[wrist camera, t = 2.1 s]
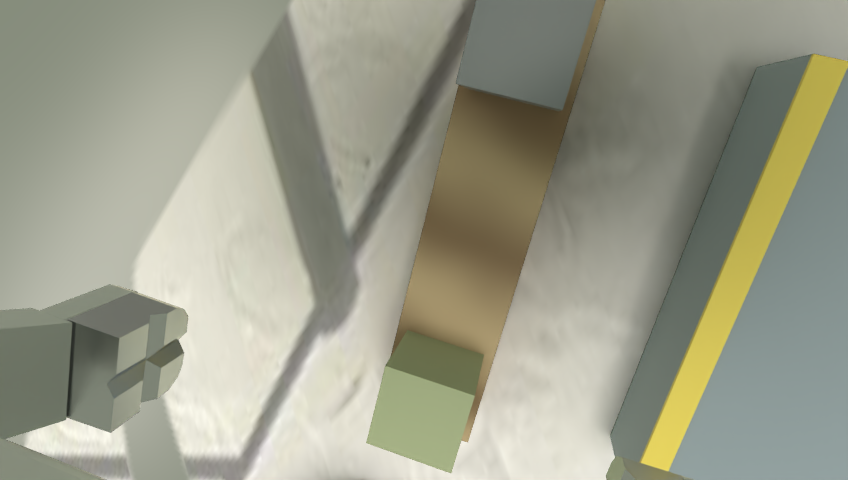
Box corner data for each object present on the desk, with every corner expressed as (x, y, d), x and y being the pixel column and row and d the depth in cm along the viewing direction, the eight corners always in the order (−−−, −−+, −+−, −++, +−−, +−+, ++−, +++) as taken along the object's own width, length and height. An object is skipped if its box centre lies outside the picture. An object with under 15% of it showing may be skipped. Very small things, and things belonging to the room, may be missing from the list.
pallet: (495, -15, 25) (488, -35, 22) (598, 8, 24) (608, -10, 21) (394, 379, 31) (377, 410, 28) (475, 406, 30) (467, 442, 27)
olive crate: (407, 329, 26) (385, 366, 23) (484, 354, 26) (474, 395, 22) (390, 397, 27) (366, 442, 24) (463, 422, 27) (451, 473, 23)
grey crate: (493, -7, 22) (484, -34, 18) (588, 13, 21) (599, -9, 18) (469, 89, 23) (455, 83, 19) (558, 111, 23) (562, 109, 19)
